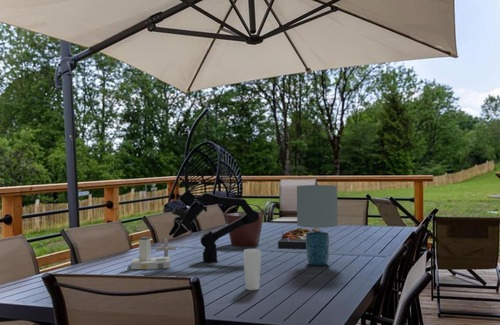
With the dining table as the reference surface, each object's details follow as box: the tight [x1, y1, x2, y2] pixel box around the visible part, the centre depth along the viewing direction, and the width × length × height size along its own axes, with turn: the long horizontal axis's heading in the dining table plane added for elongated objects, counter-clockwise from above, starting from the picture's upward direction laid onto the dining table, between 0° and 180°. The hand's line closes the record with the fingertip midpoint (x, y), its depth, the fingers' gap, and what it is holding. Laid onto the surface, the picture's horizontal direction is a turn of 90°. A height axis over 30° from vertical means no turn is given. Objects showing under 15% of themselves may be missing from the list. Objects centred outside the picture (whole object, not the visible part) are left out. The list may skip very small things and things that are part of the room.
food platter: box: [277, 227, 315, 249], centre depth 303 cm, size 45×25×10 cm, turn 168°
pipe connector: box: [155, 238, 177, 257], centre depth 254 cm, size 10×10×10 cm
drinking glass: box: [242, 248, 262, 291], centre depth 188 cm, size 7×7×15 cm
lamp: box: [296, 184, 339, 267], centre depth 234 cm, size 19×19×38 cm
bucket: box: [224, 203, 266, 248], centre depth 295 cm, size 24×22×25 cm
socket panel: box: [130, 256, 171, 270], centre depth 233 cm, size 18×14×3 cm
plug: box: [138, 236, 152, 262], centre depth 233 cm, size 4×4×14 cm
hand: (171, 236), depth 239 cm, fingers open, 9 cm apart
